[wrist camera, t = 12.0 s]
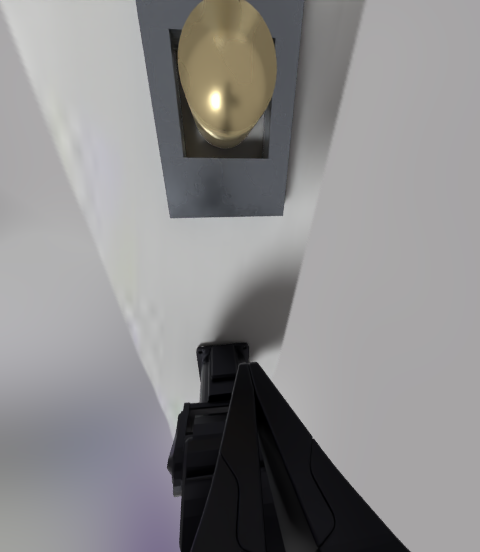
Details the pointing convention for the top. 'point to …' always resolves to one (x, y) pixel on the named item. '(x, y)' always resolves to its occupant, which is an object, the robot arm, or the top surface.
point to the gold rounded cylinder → (226, 69)
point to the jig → (169, 126)
